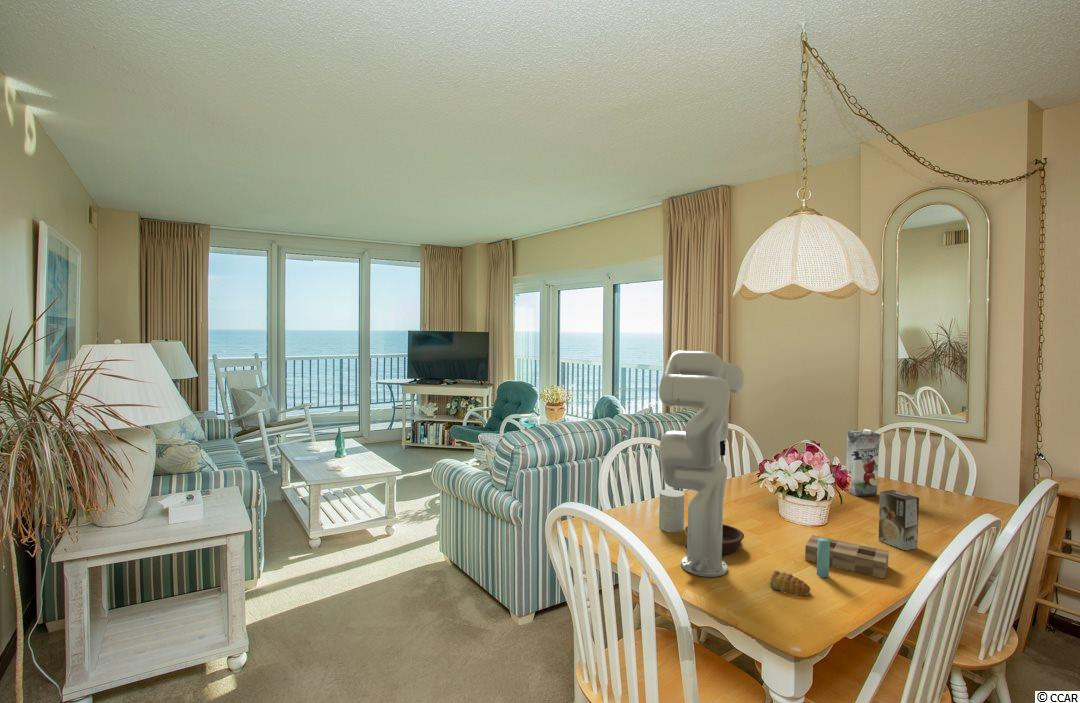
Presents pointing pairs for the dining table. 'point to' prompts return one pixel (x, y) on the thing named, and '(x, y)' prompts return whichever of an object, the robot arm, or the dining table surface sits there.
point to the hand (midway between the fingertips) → (714, 457)
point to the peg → (823, 557)
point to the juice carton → (863, 462)
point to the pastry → (789, 583)
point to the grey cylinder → (671, 510)
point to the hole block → (851, 556)
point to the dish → (728, 539)
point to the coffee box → (898, 519)
